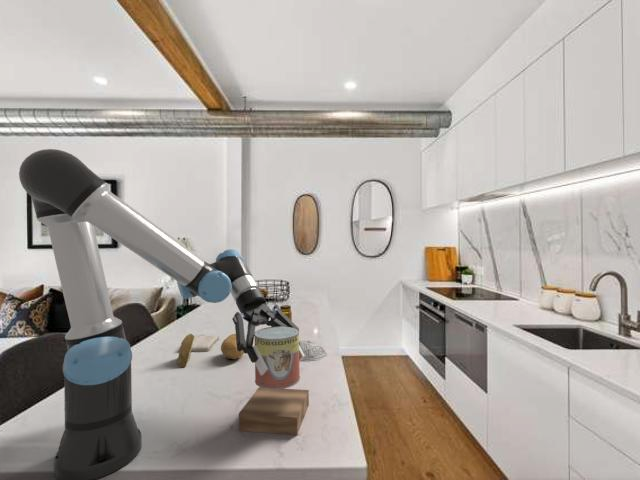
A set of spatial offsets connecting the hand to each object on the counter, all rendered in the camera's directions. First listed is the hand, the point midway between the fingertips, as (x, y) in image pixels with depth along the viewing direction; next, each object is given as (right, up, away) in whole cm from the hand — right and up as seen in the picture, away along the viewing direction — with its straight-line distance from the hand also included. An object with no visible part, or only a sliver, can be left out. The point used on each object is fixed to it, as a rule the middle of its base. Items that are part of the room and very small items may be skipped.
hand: (284, 365), depth 83 cm
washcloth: (-42, -15, +61) cm, 75 cm away
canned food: (-2, -5, +2) cm, 5 cm away
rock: (-42, -14, +40) cm, 60 cm away
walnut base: (-2, -14, +2) cm, 14 cm away
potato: (-24, -14, +45) cm, 52 cm away
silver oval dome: (0, -14, +47) cm, 49 cm away
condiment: (-8, -14, +84) cm, 85 cm away
